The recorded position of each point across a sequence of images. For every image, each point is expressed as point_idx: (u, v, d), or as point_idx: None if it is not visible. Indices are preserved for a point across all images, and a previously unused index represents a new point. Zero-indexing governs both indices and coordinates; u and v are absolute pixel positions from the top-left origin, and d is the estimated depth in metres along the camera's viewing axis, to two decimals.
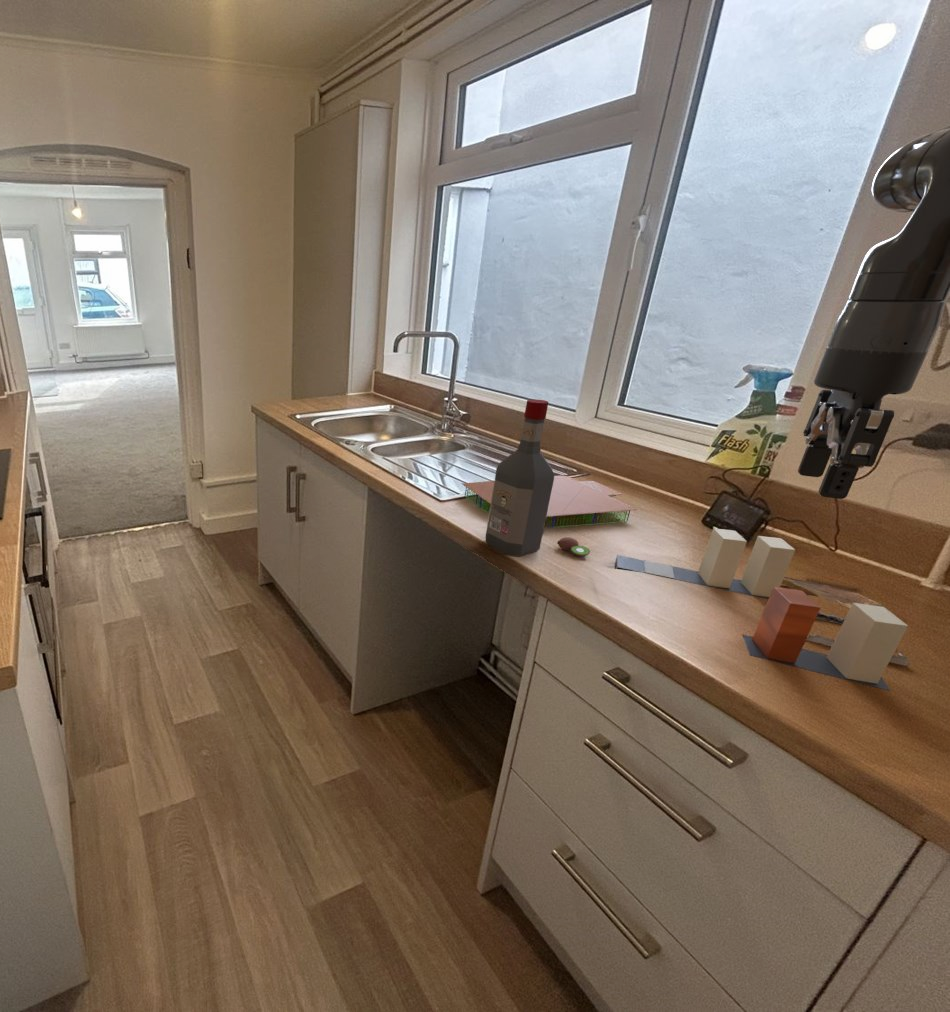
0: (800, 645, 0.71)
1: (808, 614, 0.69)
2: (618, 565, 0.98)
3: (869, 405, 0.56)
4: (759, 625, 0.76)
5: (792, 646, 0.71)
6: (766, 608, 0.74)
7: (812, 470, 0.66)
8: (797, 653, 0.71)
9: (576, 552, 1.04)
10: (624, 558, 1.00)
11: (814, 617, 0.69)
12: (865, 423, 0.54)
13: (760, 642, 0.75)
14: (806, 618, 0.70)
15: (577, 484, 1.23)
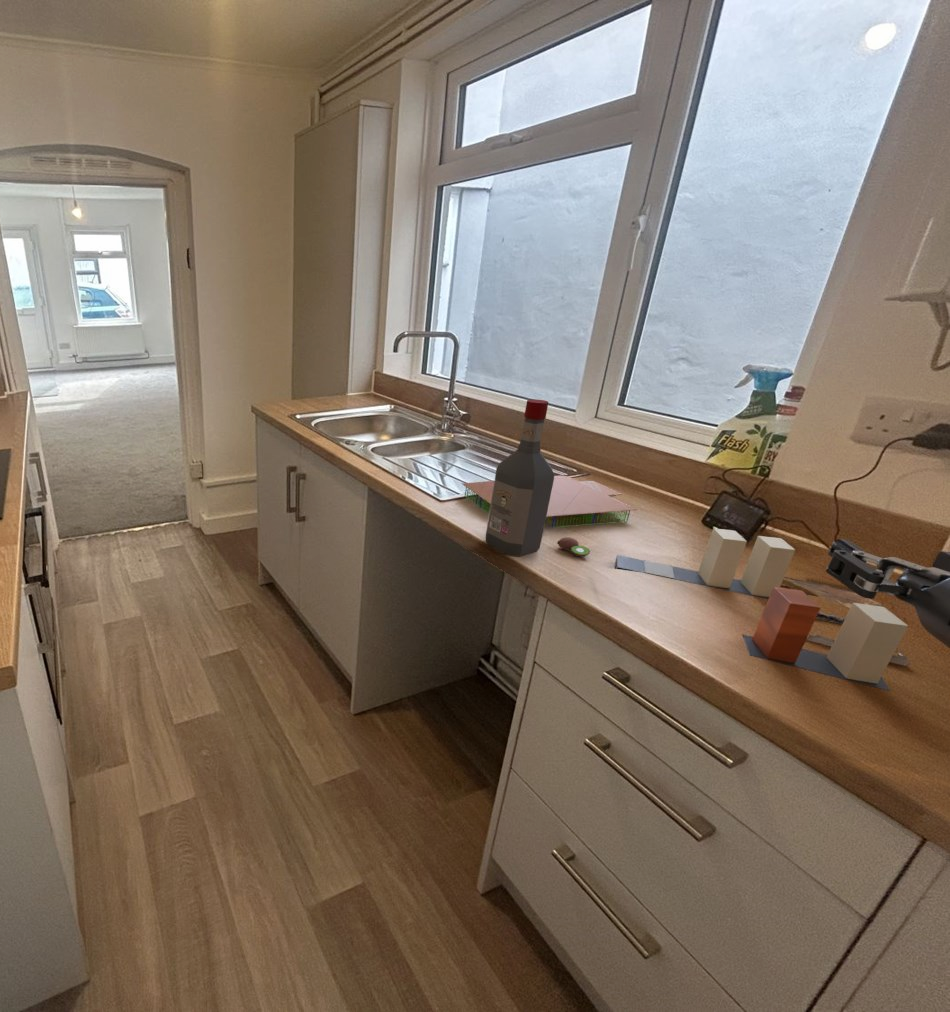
0: (800, 645, 0.71)
1: (808, 614, 0.69)
2: (618, 565, 0.98)
3: None
4: (759, 625, 0.76)
5: (792, 646, 0.71)
6: (766, 608, 0.74)
7: None
8: (797, 653, 0.71)
9: (576, 552, 1.04)
10: (624, 558, 1.00)
11: (814, 617, 0.69)
12: None
13: (760, 642, 0.75)
14: (806, 618, 0.70)
15: (577, 484, 1.23)
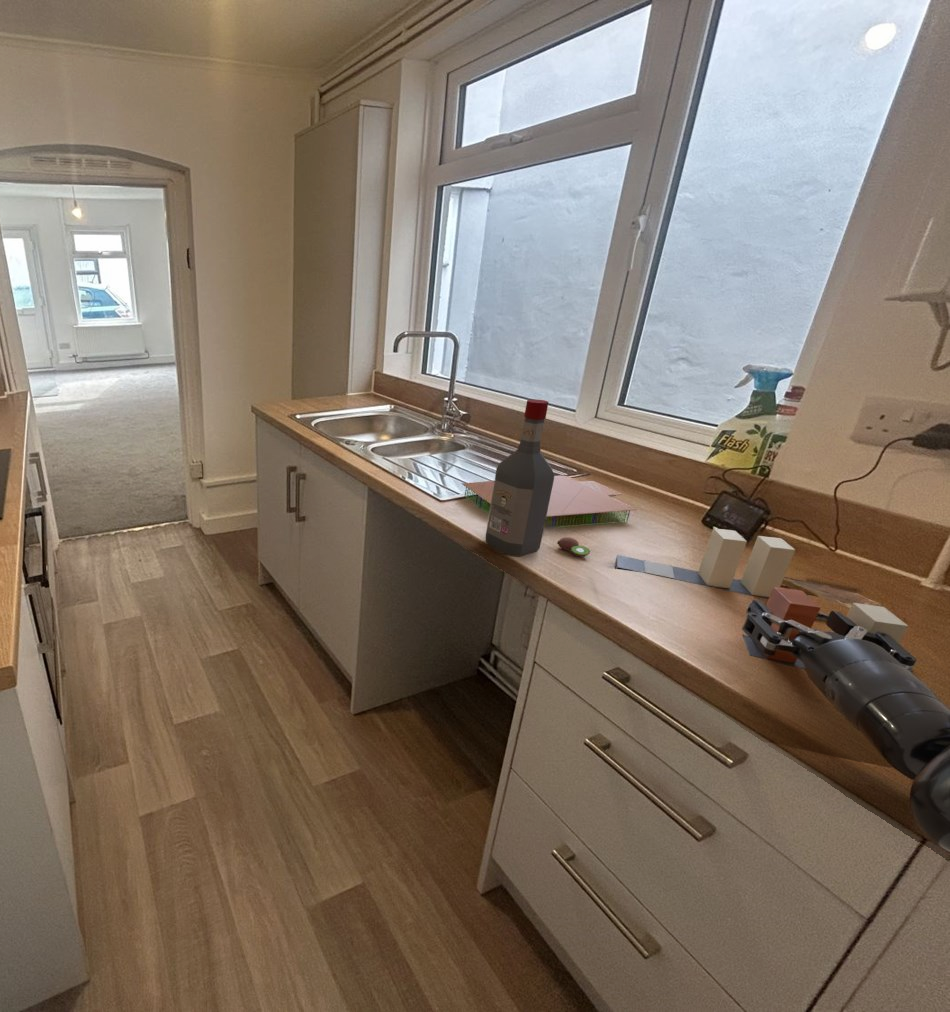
0: None
1: (808, 614, 0.69)
2: (618, 565, 0.98)
3: None
4: None
5: None
6: None
7: None
8: None
9: (576, 552, 1.04)
10: (624, 558, 1.00)
11: (814, 617, 0.69)
12: None
13: None
14: (806, 618, 0.70)
15: (577, 484, 1.23)
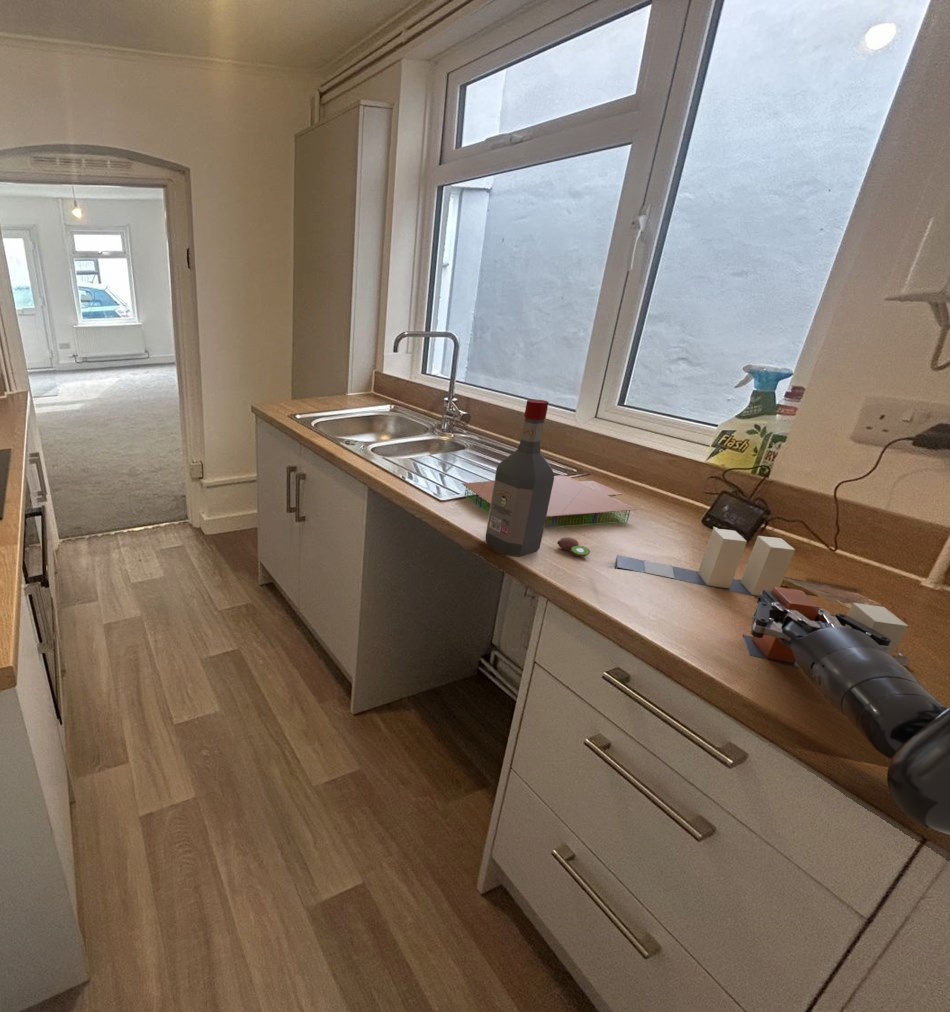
0: None
1: (808, 614, 0.69)
2: (618, 565, 0.98)
3: None
4: None
5: None
6: None
7: None
8: None
9: (576, 552, 1.04)
10: (624, 558, 1.00)
11: (814, 617, 0.69)
12: None
13: (760, 642, 0.75)
14: None
15: (577, 484, 1.23)
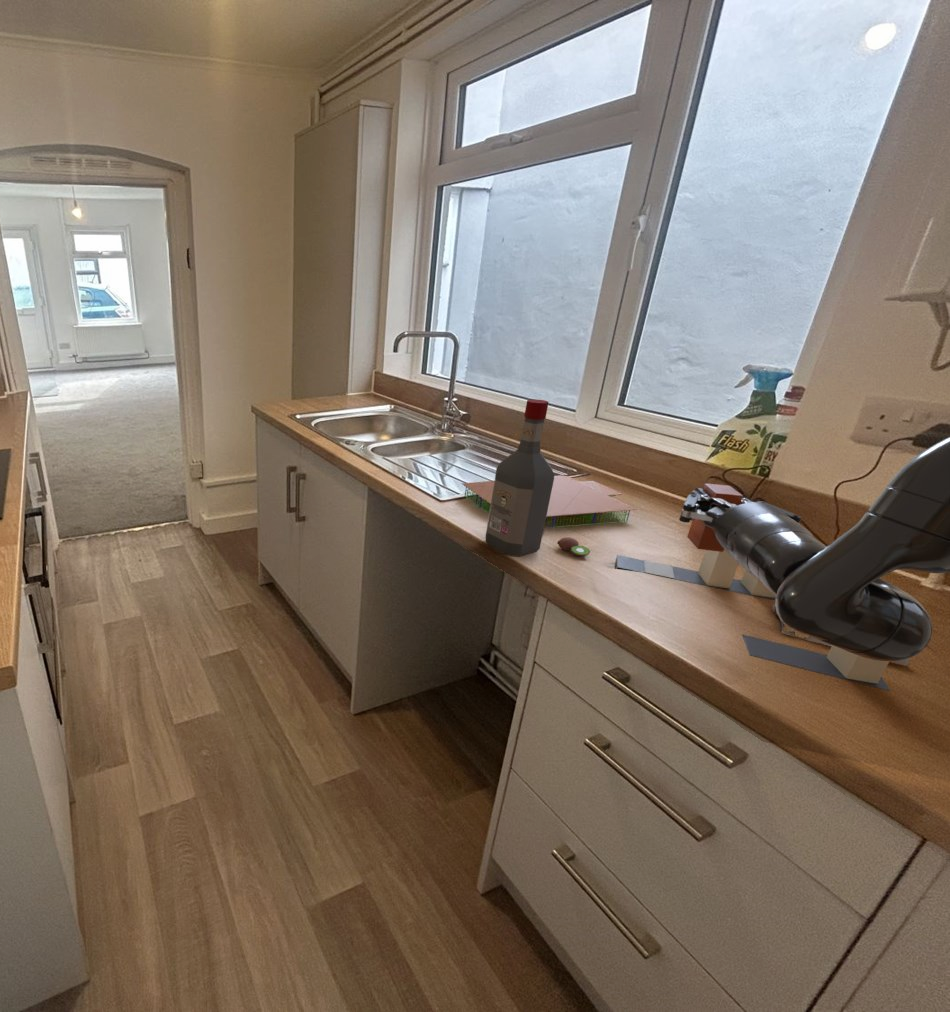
0: None
1: (732, 503, 0.75)
2: (618, 565, 0.98)
3: None
4: (692, 522, 0.82)
5: None
6: None
7: None
8: None
9: (576, 552, 1.04)
10: (624, 558, 1.00)
11: None
12: None
13: (693, 537, 0.81)
14: None
15: (577, 484, 1.23)
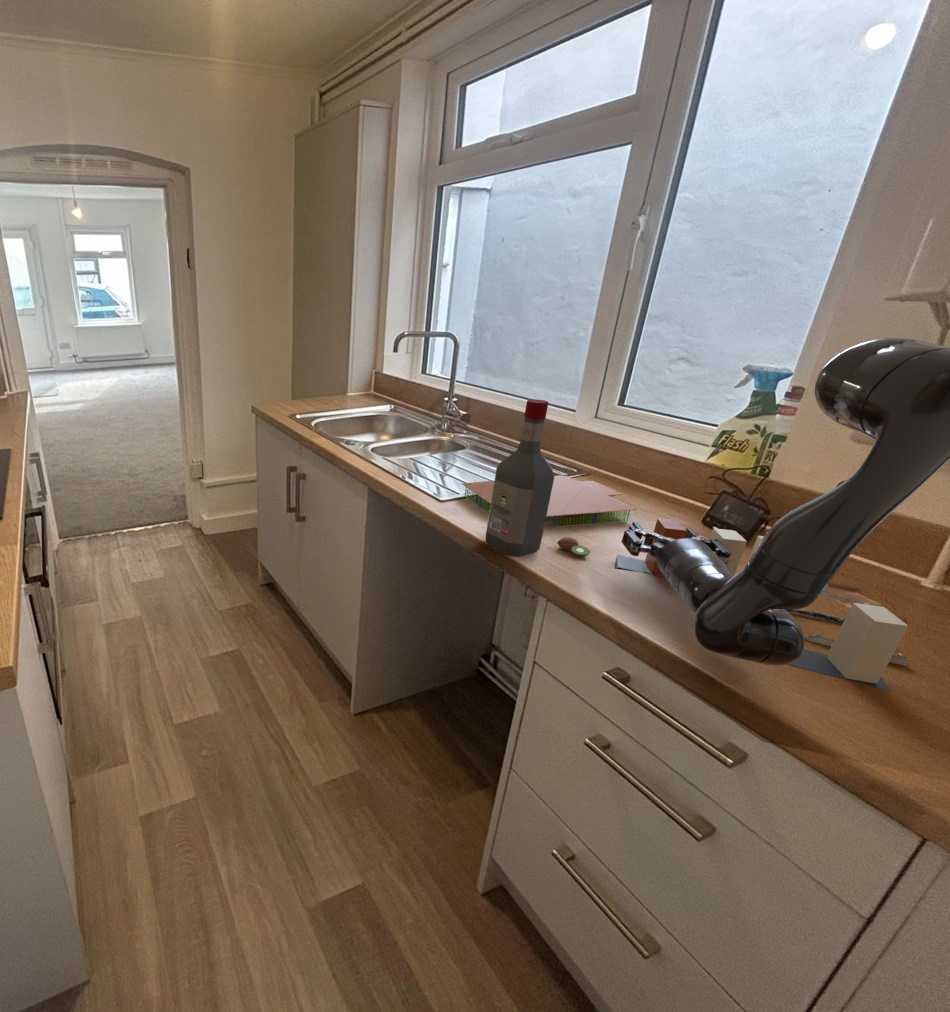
0: None
1: (678, 536, 0.91)
2: (618, 565, 0.98)
3: None
4: None
5: None
6: None
7: None
8: None
9: (576, 552, 1.04)
10: (624, 558, 1.00)
11: (683, 538, 0.91)
12: None
13: (648, 562, 0.97)
14: (677, 539, 0.91)
15: (577, 484, 1.23)
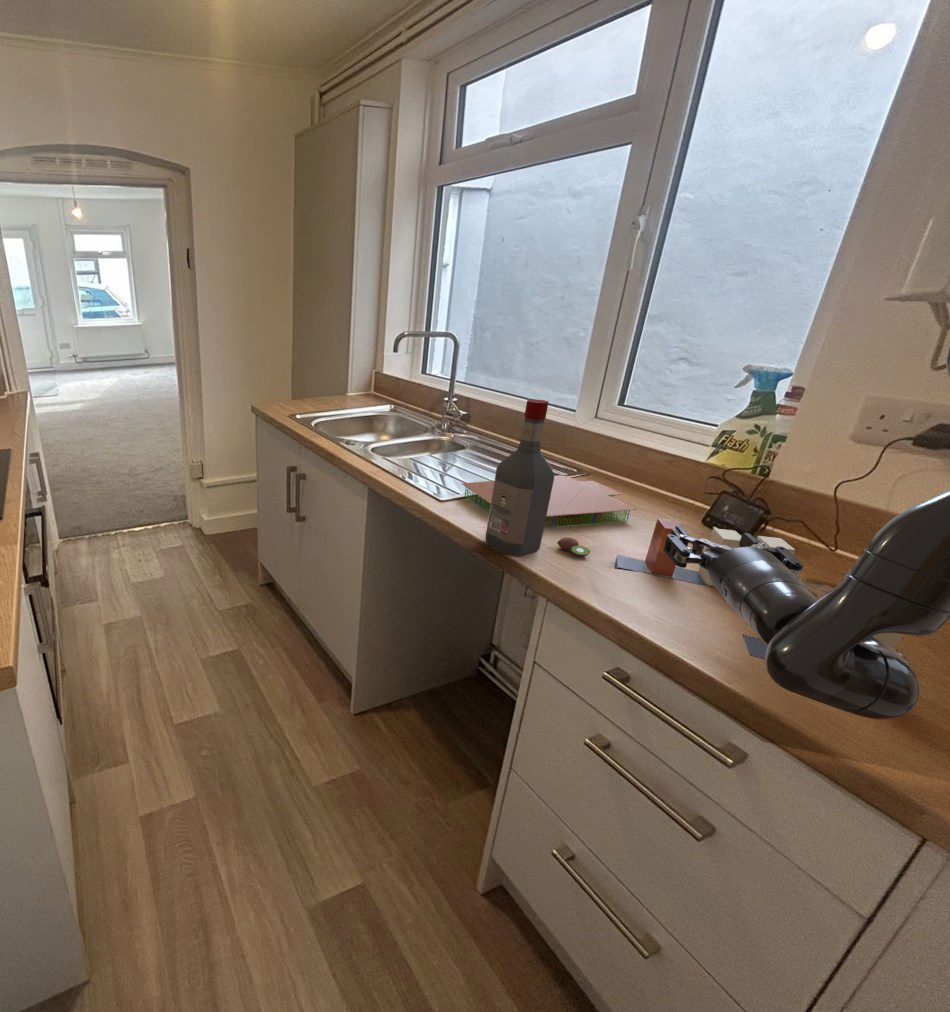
0: None
1: None
2: (618, 565, 0.98)
3: None
4: (649, 550, 0.97)
5: (669, 563, 0.93)
6: (653, 536, 0.96)
7: None
8: (673, 568, 0.93)
9: (576, 552, 1.04)
10: (624, 558, 1.00)
11: None
12: None
13: (648, 562, 0.97)
14: None
15: (577, 484, 1.23)
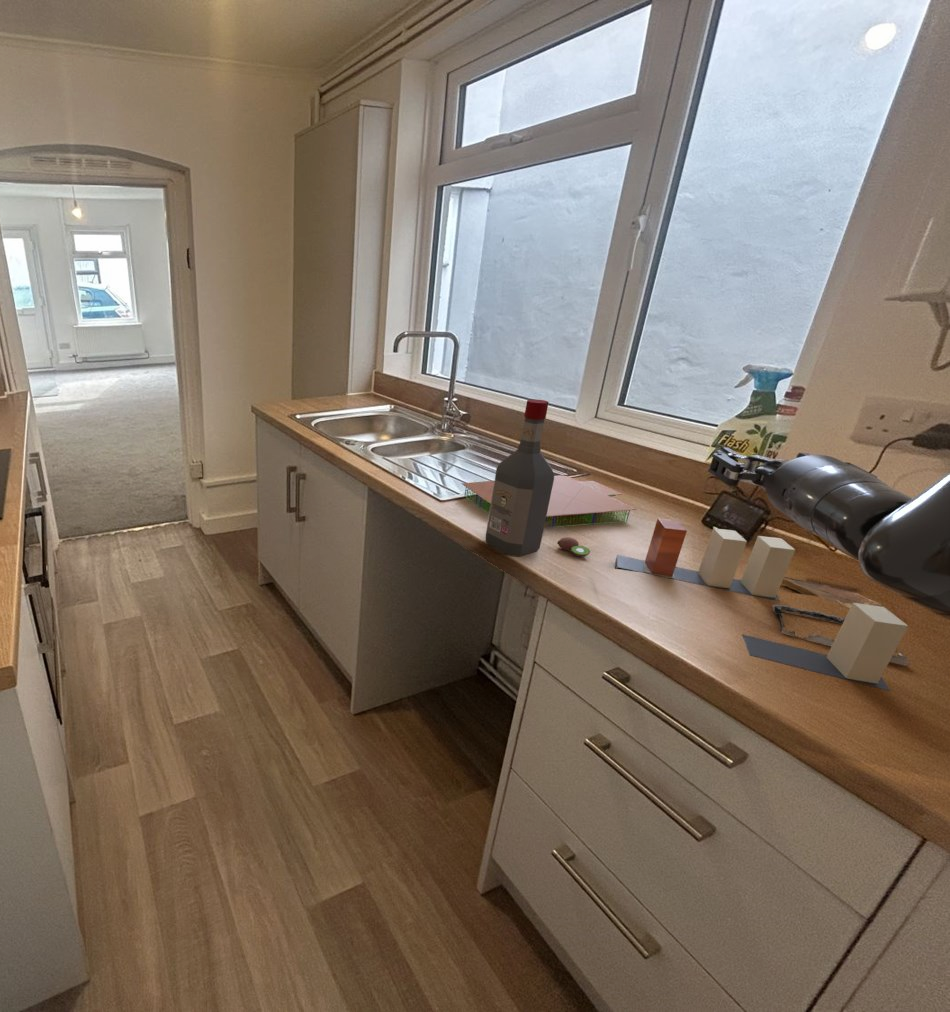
0: (674, 561, 0.93)
1: (678, 536, 0.91)
2: (618, 565, 0.98)
3: None
4: (649, 550, 0.97)
5: (669, 563, 0.93)
6: (653, 536, 0.96)
7: None
8: (673, 568, 0.93)
9: (576, 552, 1.04)
10: (624, 558, 1.00)
11: (683, 538, 0.91)
12: None
13: (648, 562, 0.97)
14: (677, 539, 0.91)
15: (577, 484, 1.23)
